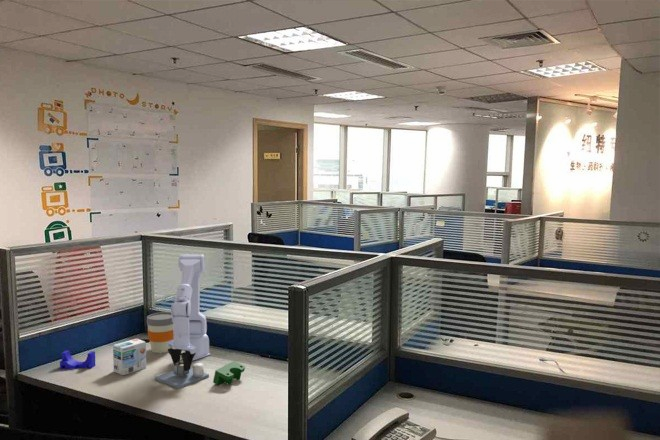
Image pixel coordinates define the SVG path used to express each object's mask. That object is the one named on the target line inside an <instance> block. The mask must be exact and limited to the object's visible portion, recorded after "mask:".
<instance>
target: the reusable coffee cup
mask: <svg viewBox="0 0 660 440" xmlns="http://www.w3.org/2000/svg"><path fill="white" fill-rule="evenodd" d="M146 324H147V329H146V331H147V336H148V341H149V343H150V349H151V352H153V353H156V354H164V353H169V352H168V349H170V348H171V346H168V341H170V340H174V333H173V322H172V315H171V311H170V312H167V311H166V312H165V311H162V312H161V311H160V312H155V313H151V314H149V315H147V316H146Z"/></svg>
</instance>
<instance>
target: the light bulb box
mask: <svg viewBox="0 0 660 440" xmlns="http://www.w3.org/2000/svg"><path fill="white" fill-rule="evenodd" d="M112 346H113V347H112V349H113V350H112V351H113V352H112V353H113V354H112V355H113V356H112V357H113V358H112V359H113V372H115V373H116V374H118V375H120V376H124V375H128V374H131V373H134V372H137V371H141V370H145V369H147V342H146V341H145V340H141V339H140V338H134V339H130V340H127V341H123V342H119V343H116V344H113V345H112Z"/></svg>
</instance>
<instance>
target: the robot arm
mask: <svg viewBox="0 0 660 440" xmlns="http://www.w3.org/2000/svg"><path fill="white" fill-rule="evenodd" d="M178 268H179V269H180V272H182V273H181V274H182V275H181V284H180V285H179V286H178V287H177V289H176V292H175V298H174V302H171V308H170V313H171V315H172V322H173V333H174V340H170V341H168V346H171V348H170V349H168V352H167V353H168V354H169V355H170V358H171V361H172V364H173V365H174V363H175V362H178V361H181V359H182V361H183V364H184V370H185V371H187V370H190V368H191V366H192V362H193V361H196V360H200V359H202V358H205V357H208V356H210V355H211V353H210V339H209V336H208V335H207V330H208V324H207V323H208V322H207V316H206V315H205V314H203V313H202V312H200V304H201V303H200V299H201V298H200V295H201V294H200V293H201V289H200V287H201V285H200V283H201V280H200V279H201V274H203V273H205V271H206V257H205V255H204V254H203V253H201V254H183V253H181V254H180V255H179V256H178ZM182 351H183V352H182Z"/></svg>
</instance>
